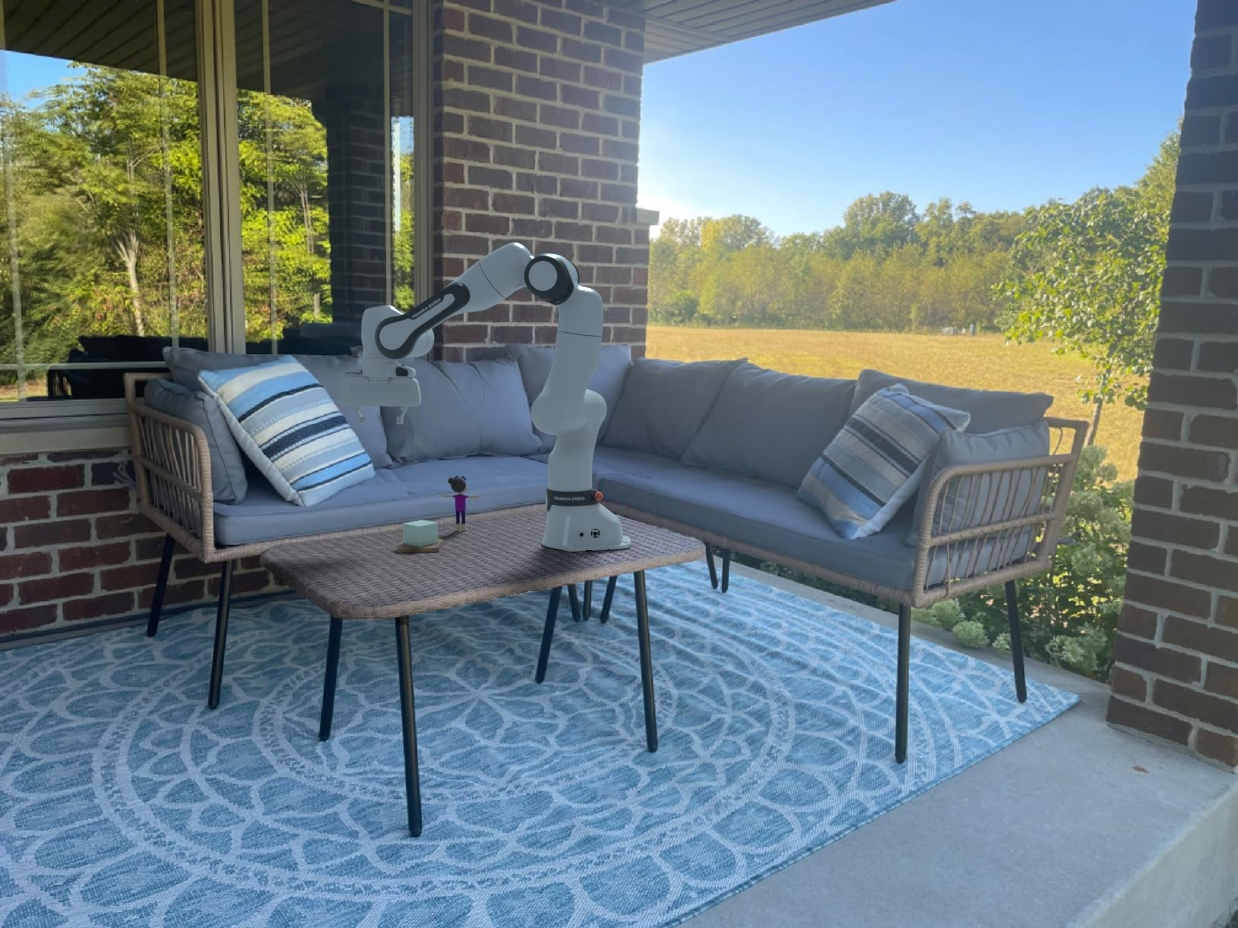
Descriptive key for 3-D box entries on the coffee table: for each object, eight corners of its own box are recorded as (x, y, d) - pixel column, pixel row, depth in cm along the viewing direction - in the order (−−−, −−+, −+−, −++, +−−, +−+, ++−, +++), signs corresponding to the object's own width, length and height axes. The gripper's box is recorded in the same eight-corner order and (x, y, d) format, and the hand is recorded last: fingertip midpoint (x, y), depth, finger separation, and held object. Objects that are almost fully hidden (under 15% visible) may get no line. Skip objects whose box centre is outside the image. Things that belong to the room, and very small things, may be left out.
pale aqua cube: (422, 539, 225) (422, 519, 225) (438, 542, 222) (437, 522, 221) (403, 543, 221) (402, 523, 220) (418, 546, 217) (418, 526, 216)
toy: (481, 530, 242) (480, 475, 240) (475, 534, 237) (474, 478, 235) (444, 528, 243) (443, 474, 242) (437, 533, 238) (436, 477, 236)
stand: (443, 543, 226) (442, 523, 225) (438, 551, 216) (438, 531, 215) (402, 543, 225) (402, 524, 224) (396, 552, 215) (396, 532, 215)
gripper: (335, 369, 223) (336, 424, 225) (418, 370, 225) (419, 425, 227) (340, 368, 230) (342, 422, 231) (421, 370, 232) (422, 423, 233)
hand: (381, 423), depth 229 cm, fingers open, 8 cm apart
